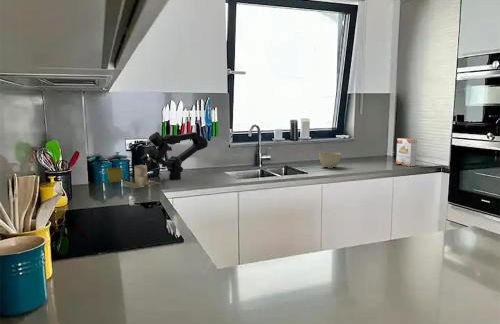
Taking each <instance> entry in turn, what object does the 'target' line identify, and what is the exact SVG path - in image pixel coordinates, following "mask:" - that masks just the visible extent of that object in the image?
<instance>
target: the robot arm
mask: <svg viewBox="0 0 500 324" xmlns="http://www.w3.org/2000/svg"><path fill="white" fill-rule="evenodd" d="M148 140H149V141H150V143H151V144H152V145H153V146H154V147H151V148H149V147H145V148H144V151H143V154H144V155H142V156H141V157H140V159H141V161H142V162H143V163H145V165H146V166H147V173H149V172H151V171H153V170H155V169H157V168H159V167H160V166H159V165H160V164H161V167H162V168H166V169H167V172H169V173H168V180H169V181H178V180H180V181H181V180H182V175H181V174H182V172H183V170H184V168H183V166H182V164H183V162H184V161H186V160H187V159H188V158H190V157H191V156H193V155H194V154H195V153H196V152H198V151H201V150H204V149H206V148H207V147H208V145H209V144H208V140H207V139H206V138H204V137H203V136H201V135H200V134H199V133H197V132H195V131H190V132H187V133H182V134H165V135H164V136H162V135H161V134H160V133H159V132H158V131H156V132H154V133H152V134H151V135H150V136H149V137H148ZM188 140H191V141H192V144H191V146H190V147H188V148H187V149H185V150H184V151H182V152H181V153H180V154H179V155H178V156H175V155H172V156H170V157H169V158H167V160H166V161H165V159H164V158H165V157H166V156H165V155H166V154H167V152H169V151H170V152H173V148H172V146H171V145H175V144H178V143H179V142H182V141H188ZM155 147H156V148H155ZM145 154H146V155H145Z"/></svg>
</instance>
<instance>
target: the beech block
mask: <svg viewBox="0 0 500 324" xmlns="http://www.w3.org/2000/svg"><path fill="white" fill-rule="evenodd" d="M146 165H147V164H145V165H144V164H139V165H137V164H136V165H133V167H134V170H133V171H134V183H135V185H137V186H144V185H145V186H149V185H148V182H149V180H148V172H147V166H146ZM145 186H144V187H145Z"/></svg>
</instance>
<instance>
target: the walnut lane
mask: <svg viewBox="0 0 500 324" xmlns="http://www.w3.org/2000/svg"><path fill="white" fill-rule="evenodd" d="M122 183H123V187H125V188H126V187H127V188H130V189H137V188H138V189H139V188H143V187H145V186H146V185H144V186H137V185H135V182H131V181H127V180H125V181H123V182H122ZM159 184H162V182H158V181H154V180H152V181H148V185H147V186H150V185H151V186H156V185H159Z"/></svg>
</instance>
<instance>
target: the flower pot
mask: <svg viewBox="0 0 500 324" xmlns="http://www.w3.org/2000/svg"><path fill="white" fill-rule="evenodd" d="M106 173H107V178H108V181H109V183H111V184H112V183H118V182H119V183H120V182H122V180H123V167H110V168H106Z"/></svg>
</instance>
